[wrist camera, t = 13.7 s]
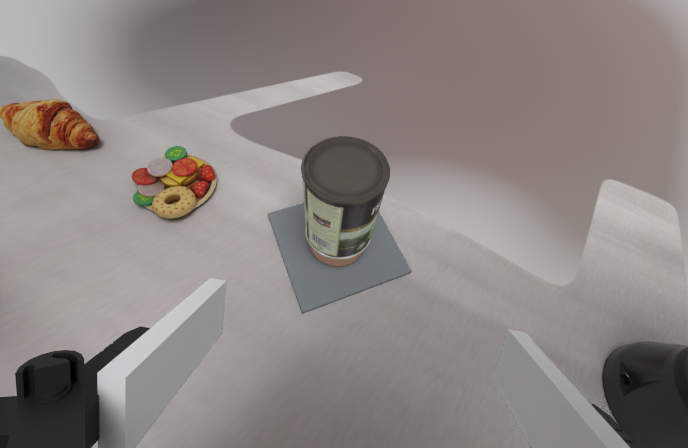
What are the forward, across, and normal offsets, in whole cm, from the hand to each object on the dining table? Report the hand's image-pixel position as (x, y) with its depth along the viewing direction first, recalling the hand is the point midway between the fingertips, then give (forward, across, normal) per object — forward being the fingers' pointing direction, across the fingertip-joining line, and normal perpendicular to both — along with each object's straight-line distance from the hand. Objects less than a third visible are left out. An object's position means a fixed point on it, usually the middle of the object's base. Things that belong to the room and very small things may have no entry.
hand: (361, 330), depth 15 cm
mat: (+38, -3, -7) cm, 38 cm away
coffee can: (+35, -3, -4) cm, 35 cm away
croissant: (+48, -59, +2) cm, 76 cm away
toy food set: (+42, -32, -3) cm, 53 cm away
